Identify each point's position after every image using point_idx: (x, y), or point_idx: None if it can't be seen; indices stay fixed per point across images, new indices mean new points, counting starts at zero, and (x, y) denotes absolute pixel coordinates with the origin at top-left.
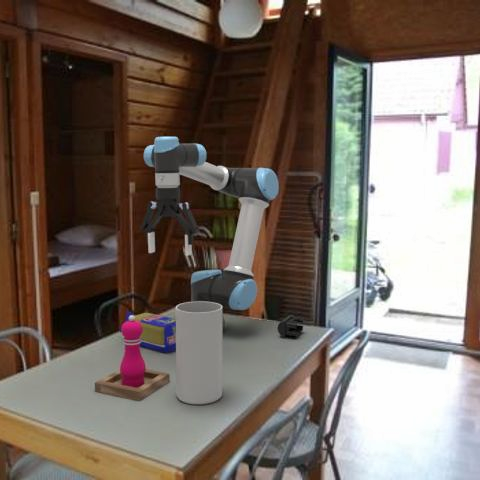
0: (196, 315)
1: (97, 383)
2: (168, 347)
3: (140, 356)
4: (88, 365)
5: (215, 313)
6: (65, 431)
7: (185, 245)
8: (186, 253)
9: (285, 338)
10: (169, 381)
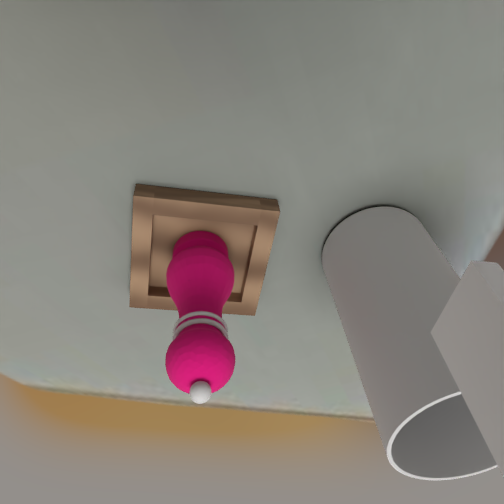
0: (459, 469)
1: (137, 307)
2: None
3: (224, 300)
4: None
5: None
6: (190, 405)
7: (484, 432)
8: (451, 350)
9: None
10: (276, 200)
